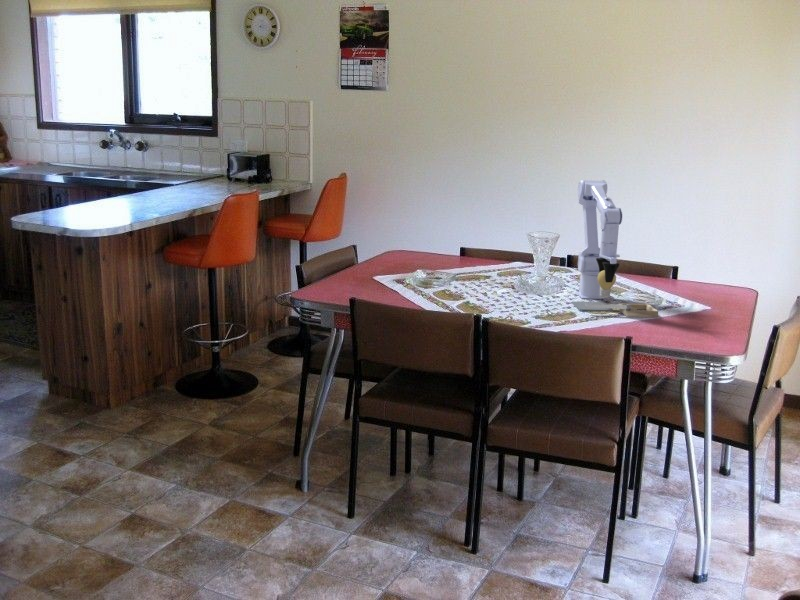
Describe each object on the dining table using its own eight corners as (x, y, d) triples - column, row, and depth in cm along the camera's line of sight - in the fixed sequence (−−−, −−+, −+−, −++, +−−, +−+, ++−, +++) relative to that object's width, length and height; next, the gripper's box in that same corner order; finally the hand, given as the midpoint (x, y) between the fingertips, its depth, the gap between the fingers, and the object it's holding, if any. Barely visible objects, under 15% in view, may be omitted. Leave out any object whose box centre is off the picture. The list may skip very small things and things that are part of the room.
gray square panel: (571, 302, 310) (571, 301, 310) (604, 303, 311) (604, 302, 311) (579, 310, 299) (579, 309, 298) (613, 311, 299) (613, 309, 299)
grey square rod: (585, 307, 293) (585, 302, 293) (585, 306, 295) (585, 301, 294) (631, 310, 291) (631, 305, 290) (630, 309, 293) (630, 304, 292)
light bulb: (617, 298, 301) (620, 271, 298) (603, 299, 298) (607, 272, 295) (605, 294, 306) (608, 267, 304) (591, 295, 303) (594, 268, 301)
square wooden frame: (617, 308, 303) (617, 303, 302) (647, 309, 303) (648, 303, 303) (626, 316, 292) (627, 310, 291) (657, 316, 292) (658, 311, 292)
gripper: (626, 246, 290) (623, 284, 294) (614, 239, 305) (611, 276, 308) (606, 245, 290) (603, 284, 293) (595, 238, 304) (592, 275, 307)
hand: (606, 280), depth 300 cm, fingers closed on light bulb, 6 cm apart
